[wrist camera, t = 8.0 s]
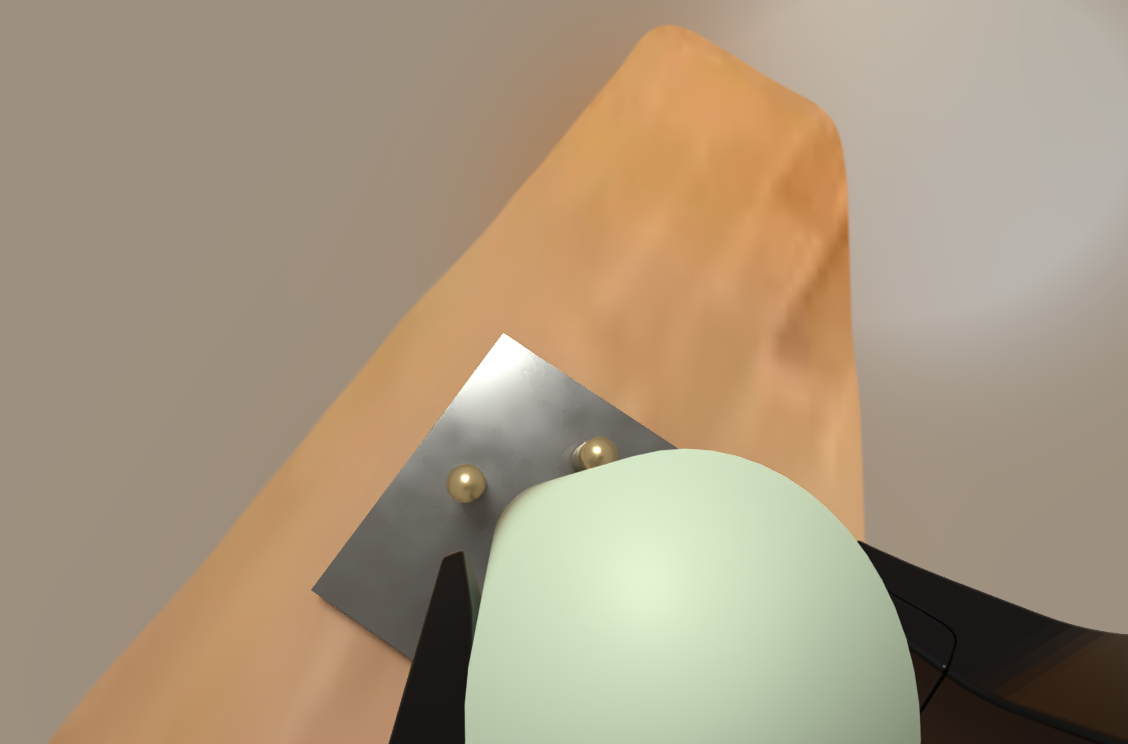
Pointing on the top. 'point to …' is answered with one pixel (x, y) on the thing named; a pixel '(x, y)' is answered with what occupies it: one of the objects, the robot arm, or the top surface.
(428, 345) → the top surface
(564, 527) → the mint green tapered post
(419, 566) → the chassis plate
